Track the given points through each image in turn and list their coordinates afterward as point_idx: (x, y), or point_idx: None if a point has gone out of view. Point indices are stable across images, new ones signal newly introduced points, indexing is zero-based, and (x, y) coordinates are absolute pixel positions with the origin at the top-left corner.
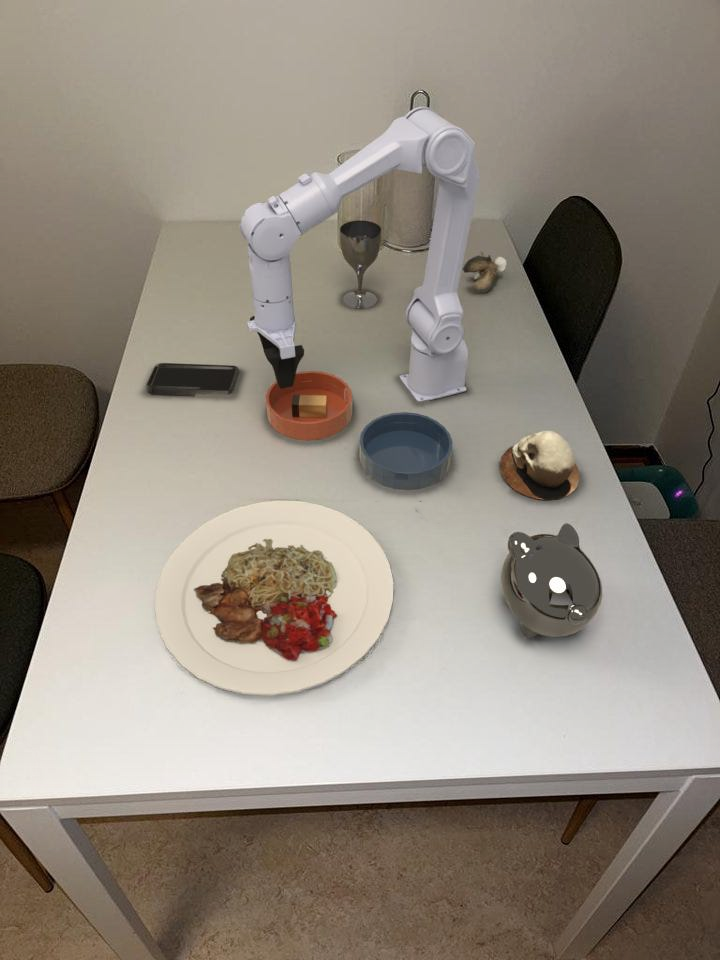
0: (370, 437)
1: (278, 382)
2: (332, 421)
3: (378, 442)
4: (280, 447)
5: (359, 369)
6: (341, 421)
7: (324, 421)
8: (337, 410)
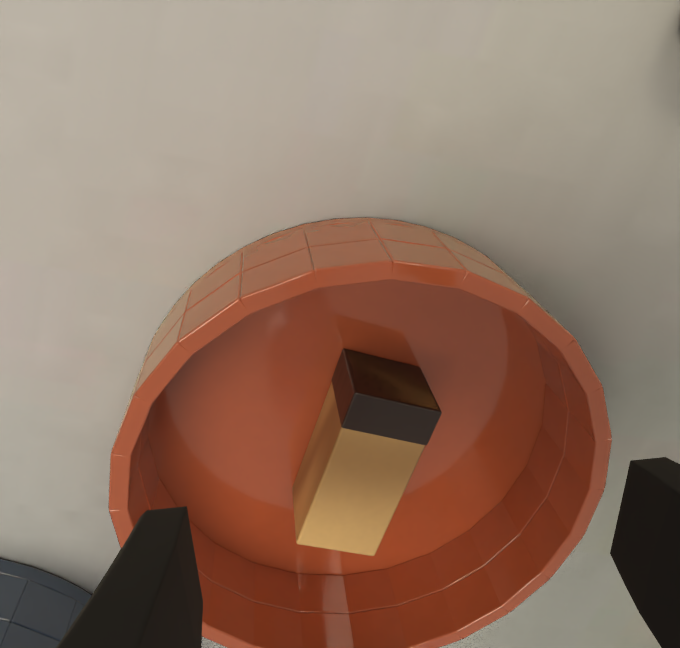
0: None
1: (110, 571)
2: None
3: None
4: (128, 240)
5: (576, 628)
6: None
7: (119, 538)
8: None
